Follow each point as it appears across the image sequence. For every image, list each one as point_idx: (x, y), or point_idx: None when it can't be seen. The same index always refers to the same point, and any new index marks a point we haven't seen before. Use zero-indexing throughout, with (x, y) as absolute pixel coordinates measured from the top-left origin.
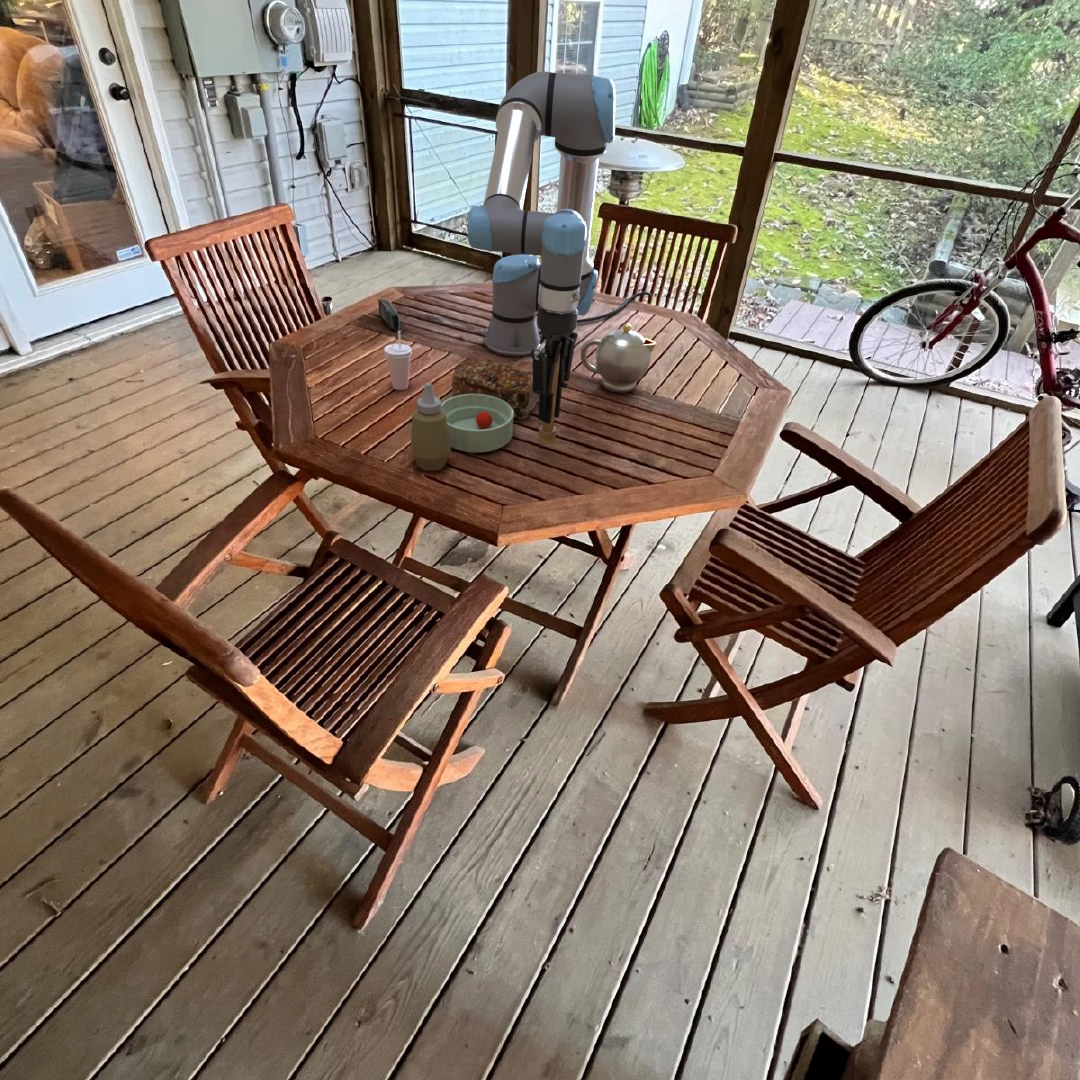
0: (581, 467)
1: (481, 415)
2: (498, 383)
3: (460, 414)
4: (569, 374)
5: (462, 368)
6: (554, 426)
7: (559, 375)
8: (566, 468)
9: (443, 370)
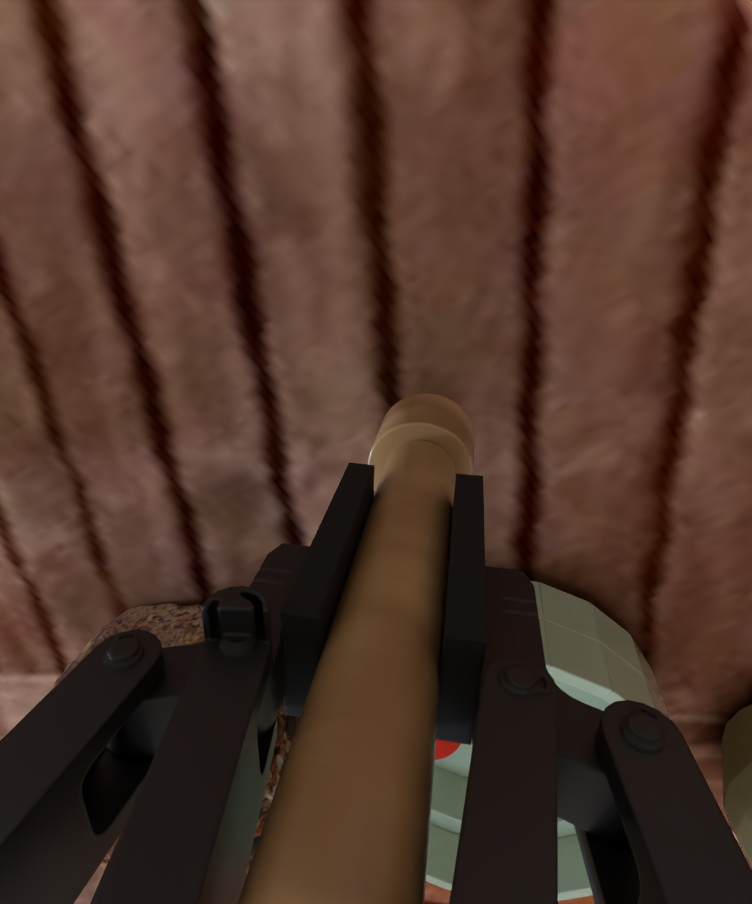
0: (443, 177)
1: (447, 750)
2: (258, 822)
3: (440, 790)
4: (74, 679)
5: None
6: (373, 449)
7: (242, 777)
8: (502, 245)
9: None
